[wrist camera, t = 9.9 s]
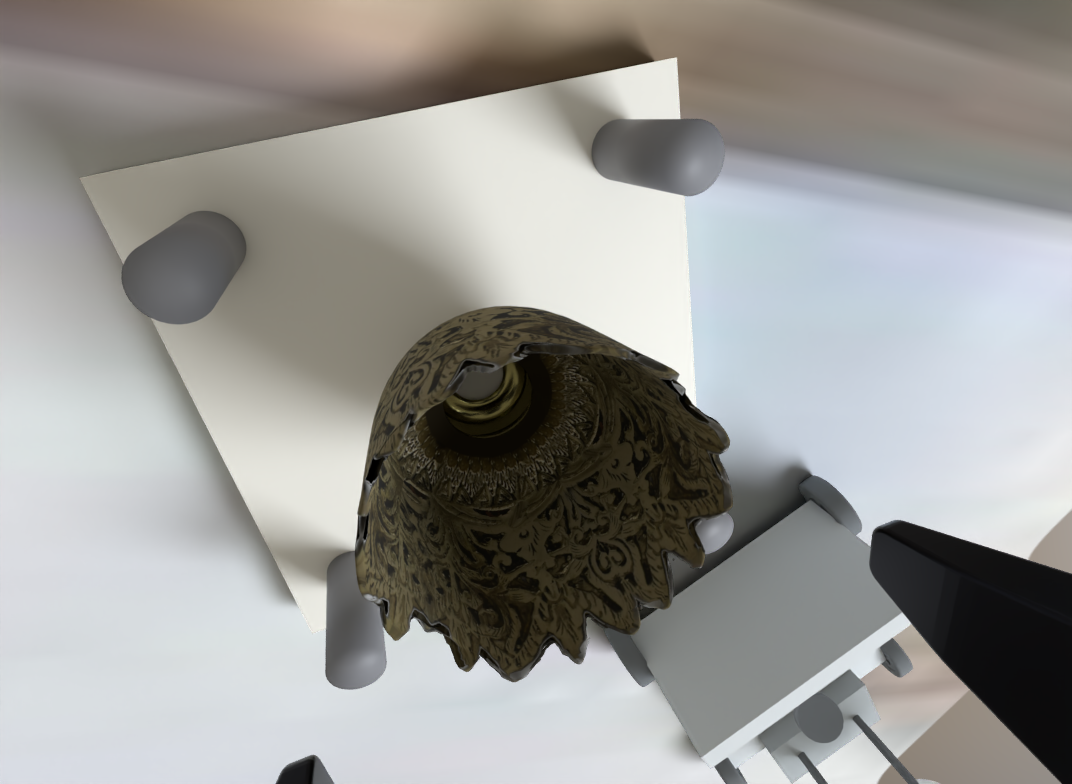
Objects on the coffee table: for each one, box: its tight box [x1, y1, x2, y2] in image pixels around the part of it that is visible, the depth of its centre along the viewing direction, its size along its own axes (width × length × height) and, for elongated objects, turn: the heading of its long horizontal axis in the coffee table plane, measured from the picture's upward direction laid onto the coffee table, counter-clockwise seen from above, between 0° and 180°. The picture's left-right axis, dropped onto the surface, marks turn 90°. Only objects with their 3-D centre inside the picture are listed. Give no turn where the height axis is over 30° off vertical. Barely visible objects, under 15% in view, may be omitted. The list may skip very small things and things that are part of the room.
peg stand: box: [79, 58, 734, 689], centre depth 17 cm, size 15×15×5 cm
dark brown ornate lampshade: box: [355, 306, 733, 682], centre depth 15 cm, size 8×7×8 cm
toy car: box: [604, 476, 940, 784], centre depth 27 cm, size 18×10×12 cm
